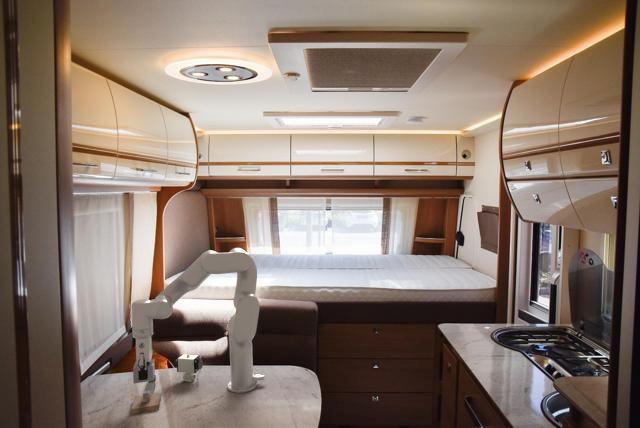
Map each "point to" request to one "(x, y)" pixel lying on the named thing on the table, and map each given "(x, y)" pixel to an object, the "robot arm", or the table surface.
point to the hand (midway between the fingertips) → (144, 375)
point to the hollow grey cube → (149, 369)
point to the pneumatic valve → (188, 365)
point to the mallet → (147, 399)
